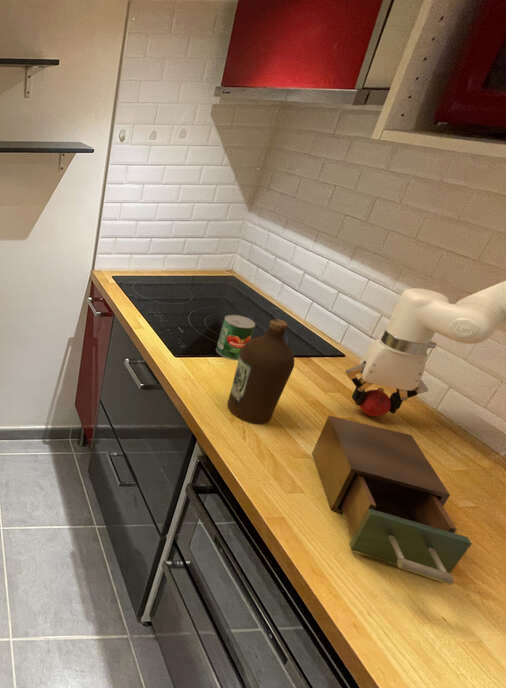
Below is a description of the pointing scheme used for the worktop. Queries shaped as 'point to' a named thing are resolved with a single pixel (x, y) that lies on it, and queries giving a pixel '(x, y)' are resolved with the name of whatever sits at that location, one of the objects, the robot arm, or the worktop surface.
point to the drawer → (402, 527)
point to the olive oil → (261, 375)
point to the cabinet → (371, 459)
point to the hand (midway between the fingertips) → (373, 405)
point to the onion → (376, 403)
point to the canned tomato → (234, 336)
